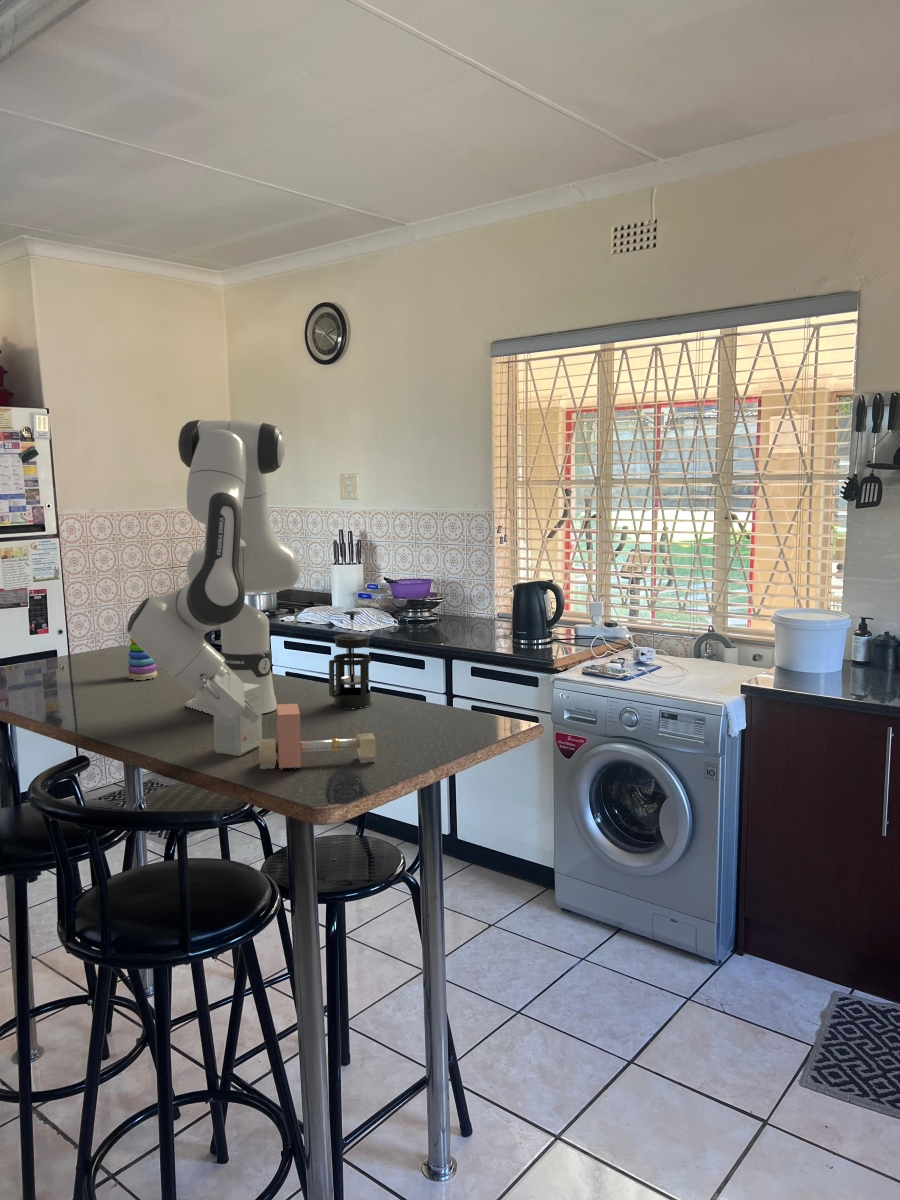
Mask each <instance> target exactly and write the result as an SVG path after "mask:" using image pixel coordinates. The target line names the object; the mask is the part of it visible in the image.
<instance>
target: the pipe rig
mask: <svg viewBox="0 0 900 1200" xmlns="http://www.w3.org/2000/svg"><path fill="white" fill-rule="evenodd" d="M300 749H301V752H303V753H304V752H319V751H322V752H323V751H332V752H337V751H338V752H339V751H341V750H357V751H356V752H358V754H359V757H360V758H364V757H374V756H375V757H376V737H375V735H374V734H373V732H371V733H370V732H369V733H357V735H356V737H354V738H351V737H350V738H338V737H333V738H332V739H317V740H300ZM277 753H278V743H277V742H276V739H275V738H262V739H259V748H258V761H259V762H258V763H260V766H265V765H276V766H277ZM260 766H259V767H260Z"/></svg>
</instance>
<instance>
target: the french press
mask: <svg viewBox="0 0 900 1200" xmlns="http://www.w3.org/2000/svg"><path fill="white" fill-rule="evenodd" d="M343 614H344V615H348V616H349V620H350V621H351V622H350V623H351V626H350V627H351V628H350V629H351V631H350V632H351V633H341V634H337V635H334V636H333V640H335V644H334V645H335V647H336V648H339V649H340V648H341V649H351V650H350V651H351V653H350V652H349V653H348V652H347V653H346V652H345V653H339V654H336V655H333V659H330V660H329V661H328V686H329V687H328V693H329V697H332V698H333V703H332V705H333V707H335V708H337V709H341V708H348V709H347V710H353V709H352V708H360V707H365V706H368V705H371V704H373V703H372V702H373V701H372V699H371V698H372V695H371V694H372V691H371V689H369V688H370V686H369V684H370V683H369V681H370V675H369V674H370V672H369V670H370V669H369V664H371V661H372V659H371V655H369V654H367V653H359V652H354V649H361V648H367V647H369V645H370V644H369V641H370V640H371V635H368V634H364V633H363V634H362V633H354V620H355V616H358V615H362V614H361V612H359V611H356V610H355V611H353V610H349V611H345V612H343ZM345 666H351V674H350V675H349V674H348V675H345V671H346V670H345V668H346V667H345ZM354 666H359V667H360V671H359V672H360V675H355V674H354ZM358 685H360V687H358ZM345 686H347V687H345ZM348 686H349V687H348ZM350 686H351V687H350ZM371 706H372V705H371ZM349 708H350V709H349Z"/></svg>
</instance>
